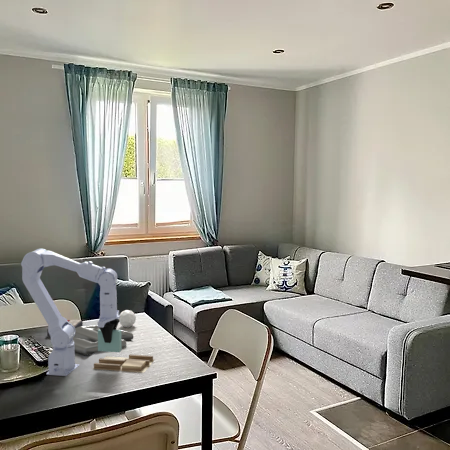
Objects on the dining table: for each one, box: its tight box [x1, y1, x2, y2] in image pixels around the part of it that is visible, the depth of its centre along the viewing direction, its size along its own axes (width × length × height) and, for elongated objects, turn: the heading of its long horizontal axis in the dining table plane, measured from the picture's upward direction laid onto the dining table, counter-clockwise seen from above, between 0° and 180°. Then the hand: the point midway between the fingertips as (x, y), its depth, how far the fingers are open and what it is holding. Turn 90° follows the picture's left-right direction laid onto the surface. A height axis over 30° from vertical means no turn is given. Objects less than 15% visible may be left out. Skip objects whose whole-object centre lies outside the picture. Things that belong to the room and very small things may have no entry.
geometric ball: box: [119, 309, 137, 328], centre depth 215 cm, size 8×8×8 cm
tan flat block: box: [122, 364, 146, 371], centre depth 165 cm, size 5×7×1 cm
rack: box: [92, 354, 155, 374], centre depth 169 cm, size 12×19×2 cm, turn 81°
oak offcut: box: [122, 360, 146, 369], centre depth 165 cm, size 5×7×1 cm
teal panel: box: [98, 329, 123, 353], centre depth 166 cm, size 2×8×8 cm, turn 81°
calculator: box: [46, 319, 84, 338], centre depth 208 cm, size 11×4×15 cm
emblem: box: [73, 324, 134, 356], centre depth 192 cm, size 28×5×28 cm
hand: (109, 341), depth 166 cm, fingers closed on teal panel, 2 cm apart
